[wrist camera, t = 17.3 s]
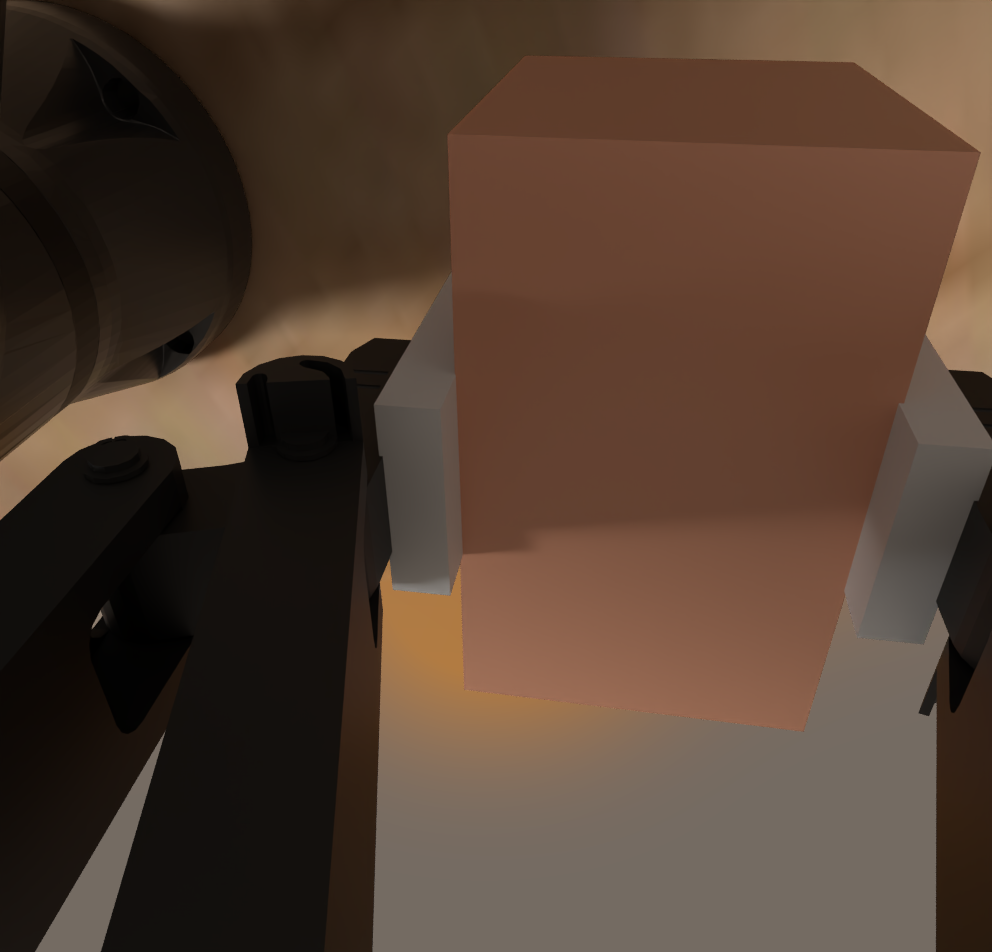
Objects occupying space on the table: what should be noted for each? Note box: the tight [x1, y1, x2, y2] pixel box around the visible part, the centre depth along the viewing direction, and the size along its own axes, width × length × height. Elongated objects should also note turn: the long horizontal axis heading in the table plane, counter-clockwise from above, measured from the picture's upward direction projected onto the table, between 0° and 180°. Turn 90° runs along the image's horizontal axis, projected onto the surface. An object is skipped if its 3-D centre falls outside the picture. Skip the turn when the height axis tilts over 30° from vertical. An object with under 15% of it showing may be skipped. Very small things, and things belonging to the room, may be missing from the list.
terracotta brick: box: [447, 55, 981, 731], centre depth 13 cm, size 5×8×6 cm, turn 0°
